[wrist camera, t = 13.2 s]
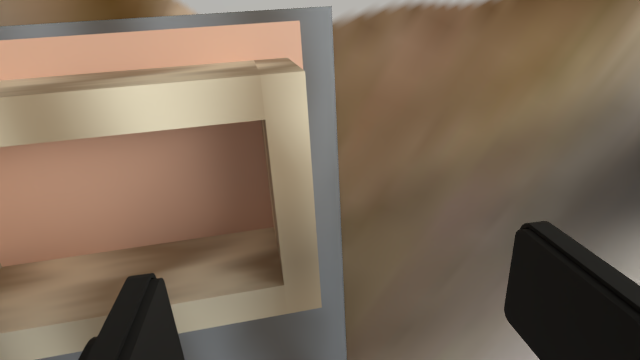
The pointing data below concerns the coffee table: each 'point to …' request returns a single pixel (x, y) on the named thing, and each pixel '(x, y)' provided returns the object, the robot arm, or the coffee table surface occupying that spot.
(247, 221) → the pin stand
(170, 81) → the open wooden box
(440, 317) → the coffee table surface
